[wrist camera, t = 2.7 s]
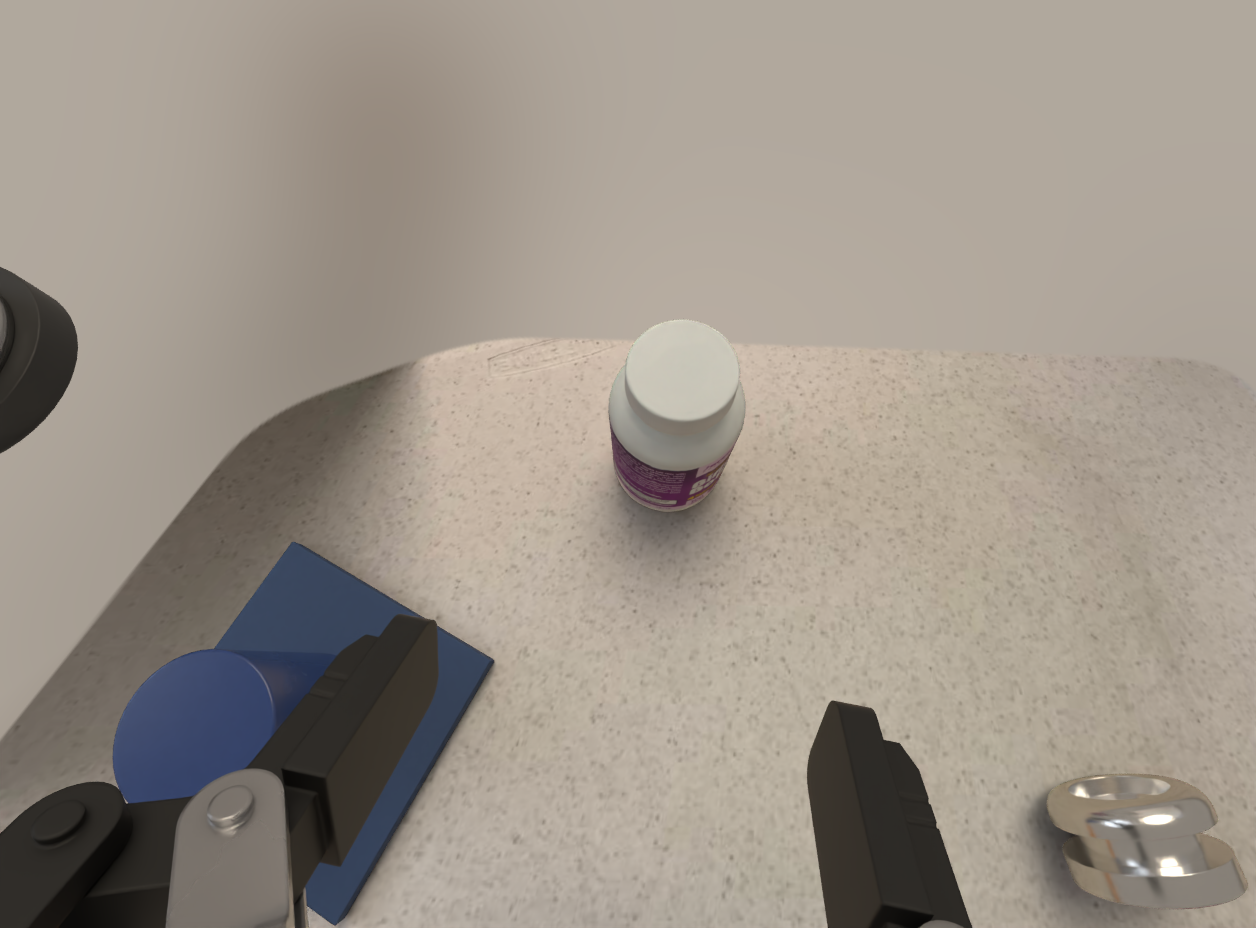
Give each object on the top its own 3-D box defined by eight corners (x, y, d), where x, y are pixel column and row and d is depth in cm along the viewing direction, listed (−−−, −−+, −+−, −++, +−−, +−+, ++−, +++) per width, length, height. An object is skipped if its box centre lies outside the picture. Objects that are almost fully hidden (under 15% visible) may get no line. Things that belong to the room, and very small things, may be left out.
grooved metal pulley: (1042, 869, 23) (1145, 922, 19) (1013, 787, 24) (1104, 817, 20) (1161, 843, 24) (1291, 888, 19) (1127, 762, 25) (1243, 786, 20)
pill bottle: (707, 527, 28) (741, 461, 19) (600, 497, 29) (584, 418, 20) (733, 427, 30) (775, 321, 21) (632, 400, 30) (630, 286, 21)
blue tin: (226, 740, 25) (76, 768, 18) (302, 631, 26) (188, 620, 19) (321, 806, 24) (199, 860, 17) (394, 689, 25) (307, 698, 19)
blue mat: (138, 769, 25) (122, 772, 24) (301, 544, 28) (292, 541, 27) (344, 918, 23) (334, 926, 22) (495, 660, 26) (491, 659, 26)
